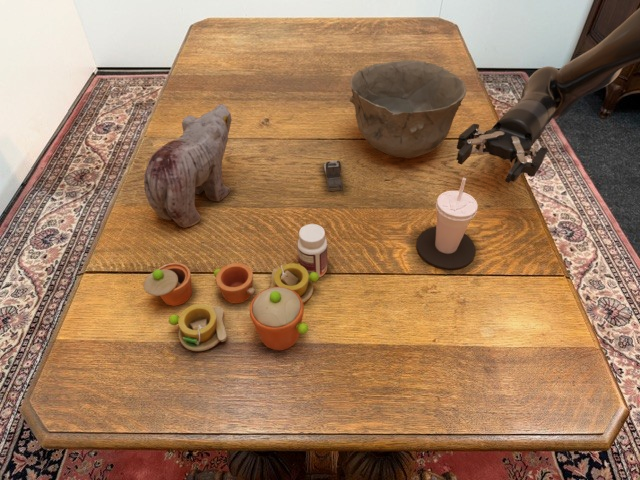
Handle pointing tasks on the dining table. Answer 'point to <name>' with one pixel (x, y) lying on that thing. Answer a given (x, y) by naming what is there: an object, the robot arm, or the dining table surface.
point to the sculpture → (189, 167)
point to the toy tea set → (236, 286)
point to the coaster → (444, 260)
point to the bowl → (406, 105)
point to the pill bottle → (312, 249)
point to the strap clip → (333, 175)
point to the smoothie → (453, 218)
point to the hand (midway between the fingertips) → (483, 168)
